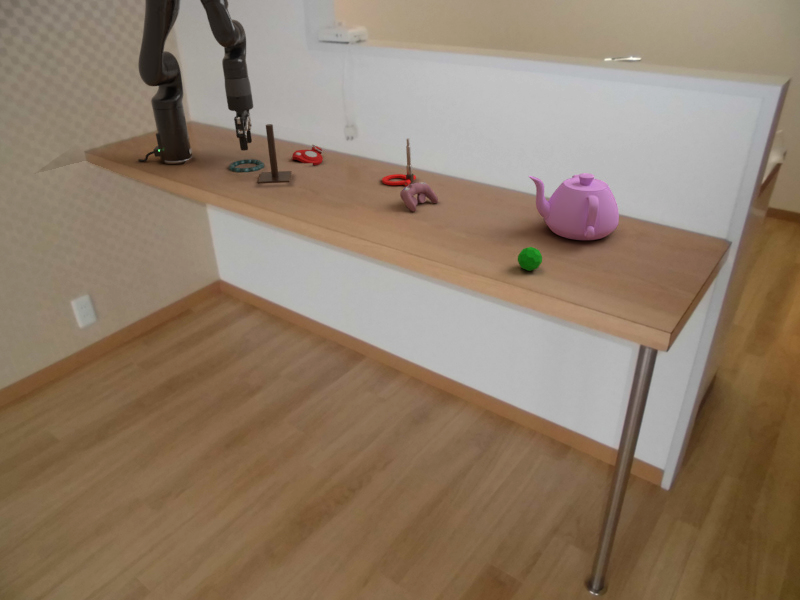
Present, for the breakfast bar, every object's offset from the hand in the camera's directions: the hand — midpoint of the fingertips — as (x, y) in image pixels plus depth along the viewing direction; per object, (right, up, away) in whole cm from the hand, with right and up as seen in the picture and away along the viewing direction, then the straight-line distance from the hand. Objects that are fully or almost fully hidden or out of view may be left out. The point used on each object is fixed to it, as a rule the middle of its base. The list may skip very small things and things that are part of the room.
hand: (246, 146), depth 193 cm
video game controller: (+53, -23, -29) cm, 65 cm away
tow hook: (+48, -14, -12) cm, 51 cm away
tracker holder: (+20, -3, +7) cm, 21 cm away
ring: (0, -7, -1) cm, 7 cm away
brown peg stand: (+11, -13, -10) cm, 20 cm away
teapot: (+89, -32, -45) cm, 105 cm away
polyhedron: (+75, -42, -63) cm, 107 cm away
